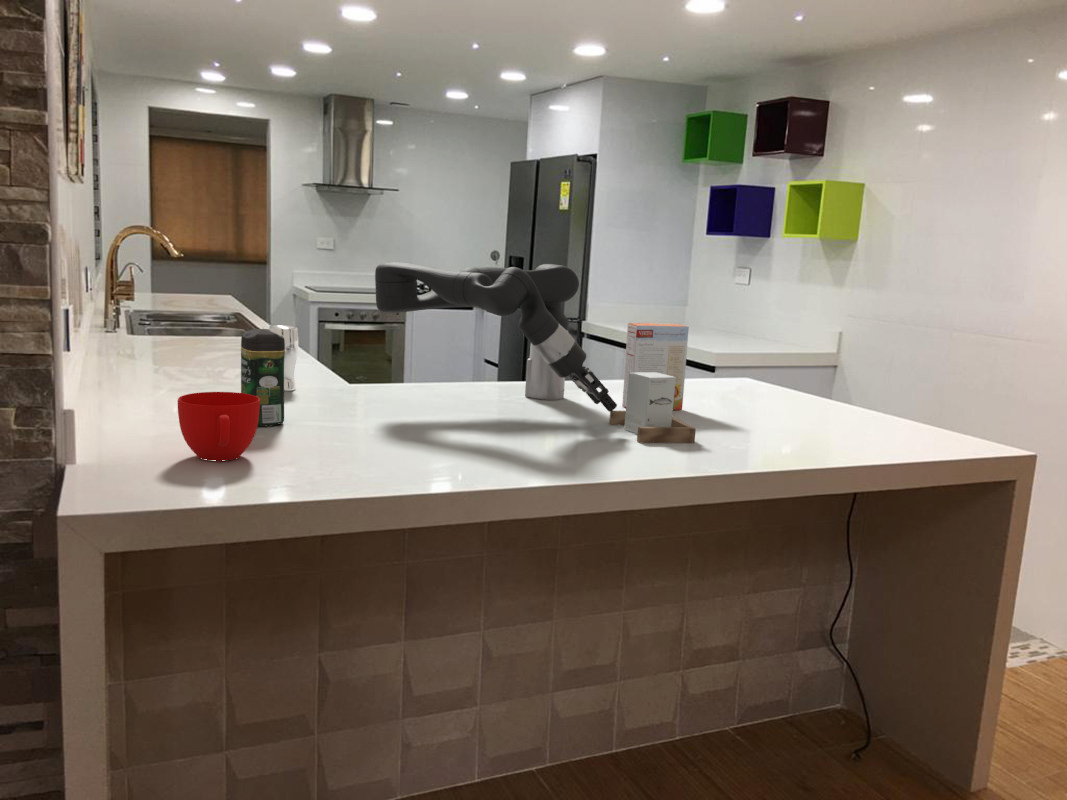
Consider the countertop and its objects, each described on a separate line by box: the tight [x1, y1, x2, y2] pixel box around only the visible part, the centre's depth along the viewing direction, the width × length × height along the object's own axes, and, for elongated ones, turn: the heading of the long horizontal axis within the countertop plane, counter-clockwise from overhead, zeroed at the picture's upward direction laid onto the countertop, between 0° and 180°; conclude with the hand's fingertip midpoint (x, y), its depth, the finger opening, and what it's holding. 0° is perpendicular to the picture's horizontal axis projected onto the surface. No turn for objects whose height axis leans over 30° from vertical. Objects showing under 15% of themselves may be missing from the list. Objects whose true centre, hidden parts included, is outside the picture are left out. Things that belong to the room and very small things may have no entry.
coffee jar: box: [240, 328, 285, 428], centre depth 180 cm, size 10×8×19 cm
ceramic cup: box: [177, 391, 260, 462], centre depth 151 cm, size 13×17×10 cm
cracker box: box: [621, 322, 690, 411], centre depth 223 cm, size 14×6×21 cm, turn 109°
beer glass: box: [268, 325, 299, 392], centre depth 218 cm, size 7×7×15 cm
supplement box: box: [623, 372, 676, 435], centre depth 195 cm, size 7×7×13 cm
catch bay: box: [608, 410, 697, 444], centre depth 195 cm, size 12×18×3 cm
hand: (606, 405), depth 196 cm, fingers open, 8 cm apart
